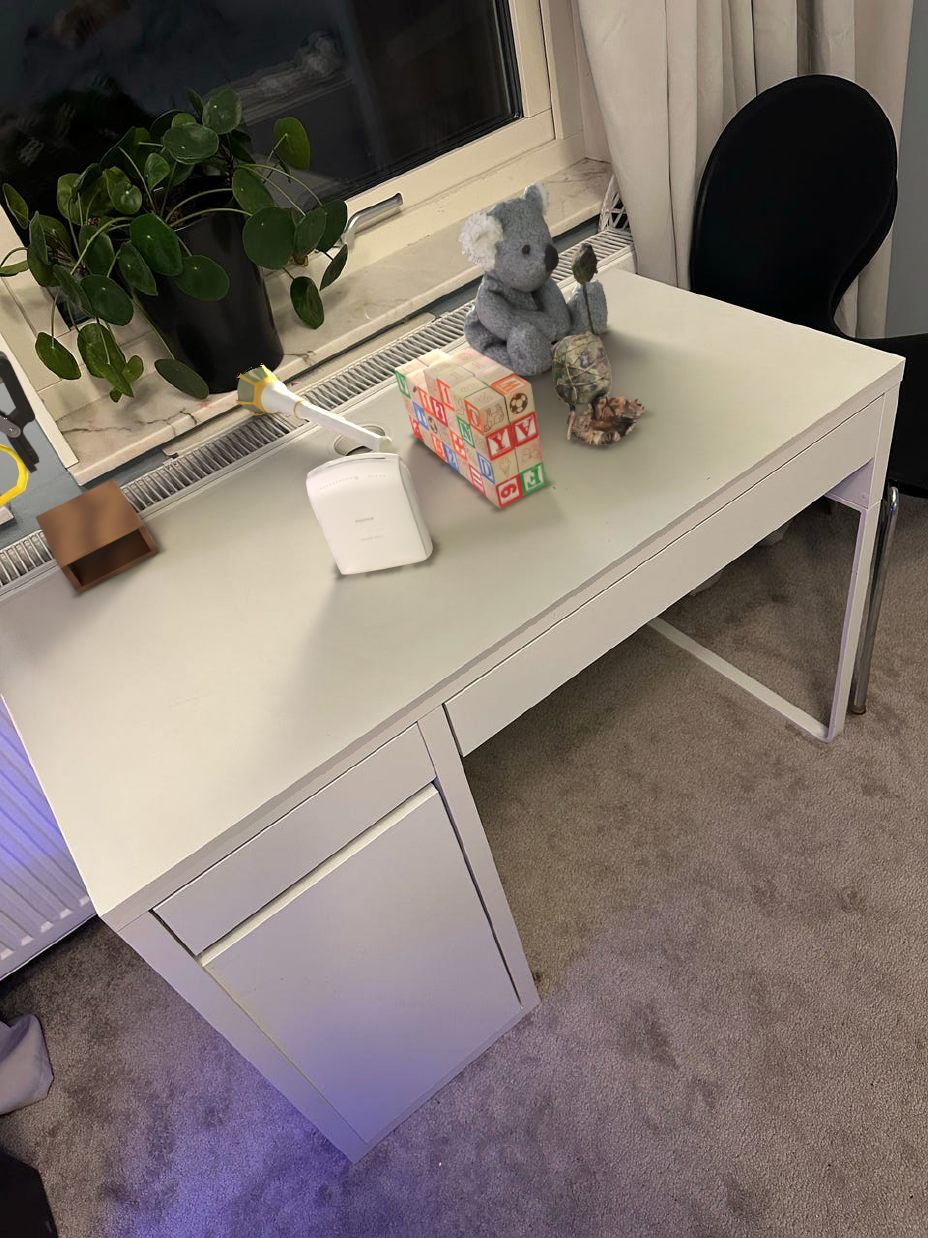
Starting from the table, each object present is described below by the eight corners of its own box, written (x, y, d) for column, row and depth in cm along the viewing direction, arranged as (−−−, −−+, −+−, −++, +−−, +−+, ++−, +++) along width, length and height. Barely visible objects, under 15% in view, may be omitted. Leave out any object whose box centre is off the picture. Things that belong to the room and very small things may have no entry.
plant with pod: (541, 438, 98) (511, 268, 85) (617, 397, 101) (599, 226, 88) (584, 464, 93) (559, 285, 79) (663, 419, 96) (652, 240, 82)
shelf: (78, 594, 95) (57, 564, 92) (55, 545, 104) (35, 516, 101) (160, 551, 98) (141, 521, 95) (130, 507, 107) (113, 478, 104)
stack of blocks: (412, 436, 105) (385, 343, 97) (455, 415, 106) (432, 322, 98) (500, 509, 90) (477, 407, 81) (549, 484, 91) (531, 381, 83)
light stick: (357, 439, 98) (215, 374, 115) (371, 483, 102) (232, 415, 119) (400, 409, 101) (256, 351, 118) (411, 454, 105) (271, 391, 122)
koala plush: (536, 386, 107) (510, 229, 94) (440, 361, 118) (404, 217, 105) (618, 325, 115) (605, 171, 101) (520, 307, 126) (496, 166, 112)
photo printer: (336, 580, 87) (294, 481, 79) (340, 554, 90) (301, 456, 82) (433, 564, 85) (401, 461, 77) (434, 538, 88) (404, 437, 80)
